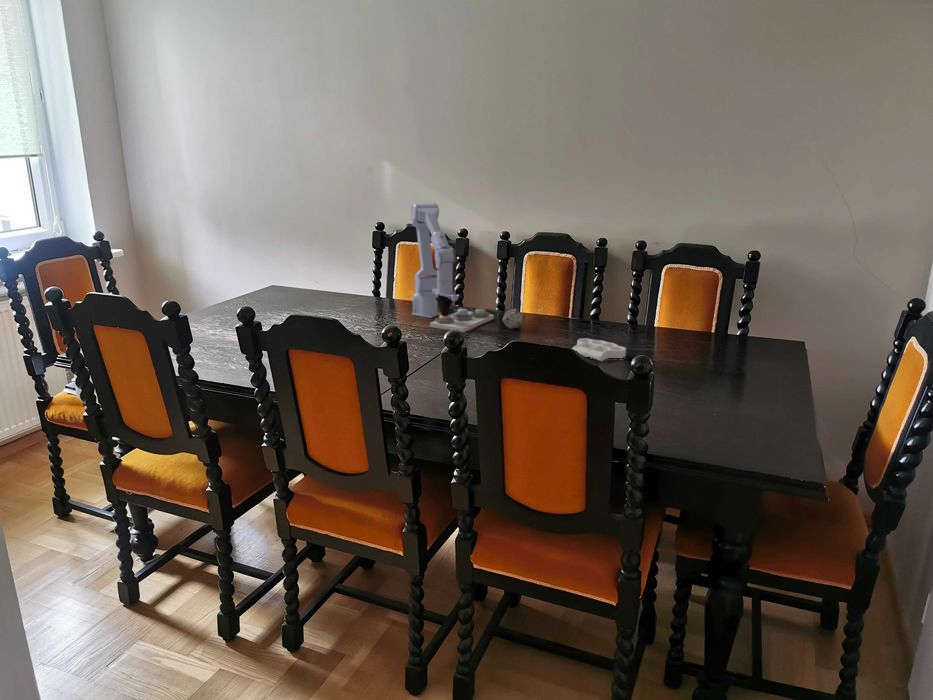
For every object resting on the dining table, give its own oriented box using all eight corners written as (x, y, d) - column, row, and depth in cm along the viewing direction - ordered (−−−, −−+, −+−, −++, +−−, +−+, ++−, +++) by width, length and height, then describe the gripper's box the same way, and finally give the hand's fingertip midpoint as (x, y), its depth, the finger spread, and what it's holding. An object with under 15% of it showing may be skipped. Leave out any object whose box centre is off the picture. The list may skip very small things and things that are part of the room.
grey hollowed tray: (563, 353, 234) (588, 345, 244) (608, 365, 222) (633, 356, 232) (563, 343, 233) (588, 335, 243) (609, 355, 221) (633, 346, 231)
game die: (516, 339, 261) (526, 322, 254) (495, 331, 261) (504, 314, 253) (520, 322, 267) (529, 306, 260) (499, 315, 267) (508, 297, 259)
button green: (473, 315, 273) (473, 310, 272) (477, 313, 276) (478, 308, 275) (482, 316, 271) (482, 311, 270) (486, 314, 274) (487, 309, 273)
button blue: (455, 315, 268) (455, 310, 267) (460, 313, 271) (460, 308, 270) (464, 317, 266) (464, 311, 265) (469, 314, 269) (469, 309, 269)
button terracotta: (437, 321, 264) (437, 315, 263) (442, 319, 267) (442, 313, 266) (446, 323, 262) (446, 317, 261) (451, 320, 265) (451, 315, 264)
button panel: (429, 326, 263) (429, 319, 262) (461, 313, 283) (461, 307, 282) (463, 332, 256) (463, 325, 255) (493, 318, 276) (493, 312, 275)
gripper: (425, 278, 263) (425, 313, 267) (446, 284, 252) (446, 321, 256) (441, 276, 267) (441, 310, 271) (462, 282, 256) (462, 318, 260)
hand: (444, 315), depth 264 cm, fingers closed, pressing on button terracotta
